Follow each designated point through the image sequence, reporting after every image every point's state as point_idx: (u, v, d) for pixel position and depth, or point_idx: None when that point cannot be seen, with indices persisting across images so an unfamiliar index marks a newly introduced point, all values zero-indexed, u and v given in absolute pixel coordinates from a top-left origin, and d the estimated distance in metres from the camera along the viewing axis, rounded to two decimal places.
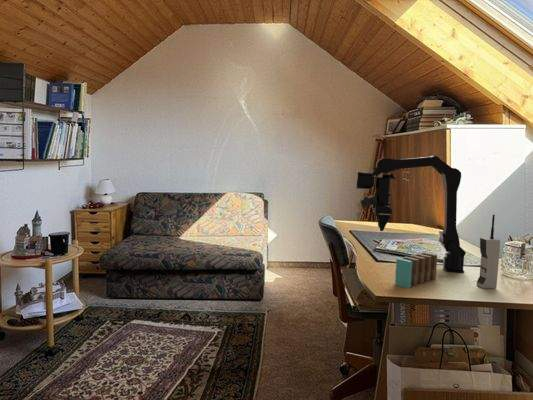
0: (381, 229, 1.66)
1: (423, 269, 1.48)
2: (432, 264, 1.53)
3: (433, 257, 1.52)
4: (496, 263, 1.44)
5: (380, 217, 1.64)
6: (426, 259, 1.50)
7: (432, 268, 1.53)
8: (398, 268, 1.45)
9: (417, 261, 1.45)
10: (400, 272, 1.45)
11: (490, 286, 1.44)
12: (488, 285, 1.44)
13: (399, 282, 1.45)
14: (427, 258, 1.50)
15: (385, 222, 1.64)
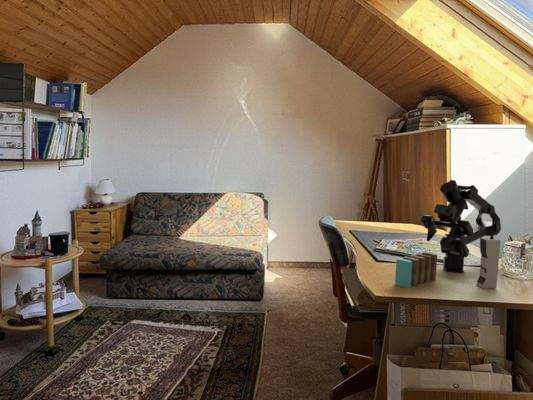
0: (446, 242, 1.55)
1: (423, 269, 1.48)
2: (432, 264, 1.53)
3: (433, 257, 1.52)
4: (496, 263, 1.44)
5: (454, 231, 1.55)
6: (426, 259, 1.50)
7: (432, 268, 1.53)
8: (398, 268, 1.45)
9: (417, 261, 1.45)
10: (400, 272, 1.45)
11: (490, 286, 1.44)
12: (488, 285, 1.44)
13: (399, 282, 1.45)
14: (427, 258, 1.50)
15: (453, 239, 1.56)
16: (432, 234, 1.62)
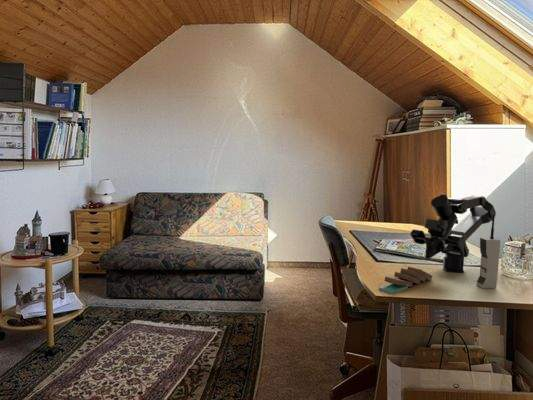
0: (428, 257, 1.53)
1: (413, 279, 1.44)
2: None
3: None
4: (496, 263, 1.44)
5: (436, 245, 1.54)
6: (412, 275, 1.45)
7: None
8: None
9: (398, 282, 1.39)
10: None
11: (490, 286, 1.44)
12: (488, 285, 1.44)
13: None
14: (412, 275, 1.45)
15: (435, 253, 1.54)
16: None
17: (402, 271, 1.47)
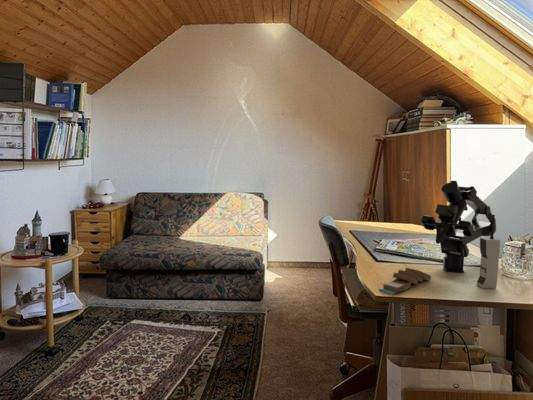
0: (439, 241, 1.57)
1: (412, 279, 1.44)
2: None
3: None
4: (496, 263, 1.44)
5: (447, 230, 1.57)
6: None
7: None
8: None
9: (398, 289, 1.36)
10: None
11: (490, 286, 1.44)
12: (488, 285, 1.44)
13: None
14: None
15: (445, 237, 1.58)
16: None
17: (400, 273, 1.47)
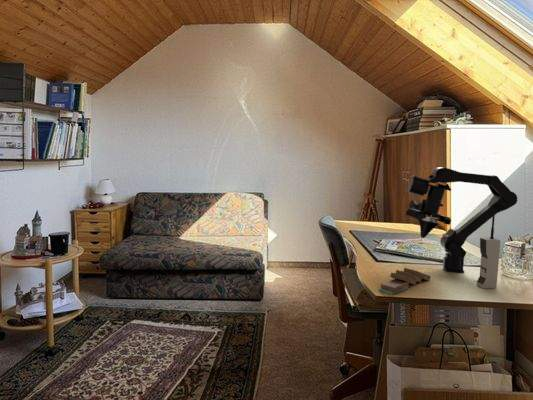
0: (421, 235, 1.67)
1: (409, 279, 1.43)
2: None
3: None
4: (496, 263, 1.44)
5: (421, 223, 1.66)
6: None
7: (421, 277, 1.50)
8: None
9: (395, 289, 1.36)
10: None
11: (490, 286, 1.44)
12: (488, 285, 1.44)
13: None
14: None
15: (424, 229, 1.65)
16: None
17: (397, 273, 1.47)
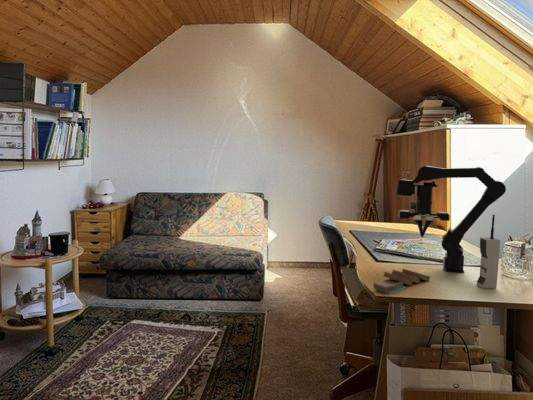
0: (420, 234, 1.71)
1: (403, 279, 1.43)
2: (417, 277, 1.49)
3: (413, 276, 1.48)
4: (496, 263, 1.44)
5: (417, 222, 1.71)
6: (403, 277, 1.45)
7: (420, 278, 1.50)
8: None
9: (387, 289, 1.36)
10: None
11: (490, 286, 1.44)
12: (488, 285, 1.44)
13: None
14: (403, 277, 1.44)
15: (419, 228, 1.70)
16: (423, 227, 1.70)
17: (393, 273, 1.47)
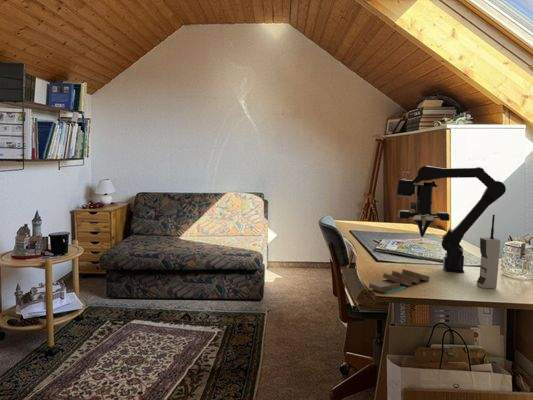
0: (420, 234, 1.71)
1: (402, 281, 1.42)
2: None
3: None
4: (496, 263, 1.44)
5: (417, 222, 1.71)
6: (403, 278, 1.44)
7: (420, 278, 1.50)
8: None
9: (382, 289, 1.36)
10: None
11: (490, 286, 1.44)
12: (488, 285, 1.44)
13: None
14: (403, 278, 1.44)
15: (419, 228, 1.70)
16: (423, 227, 1.70)
17: (393, 274, 1.47)
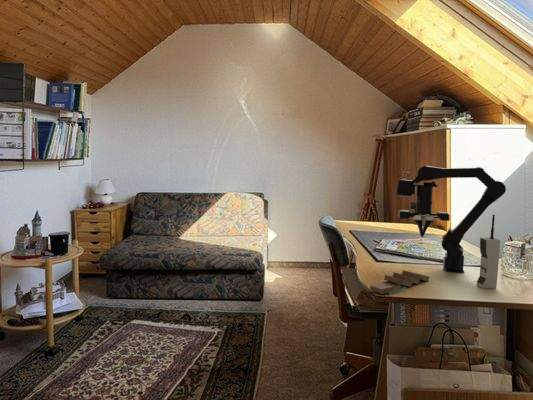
0: (420, 234, 1.71)
1: (404, 282, 1.41)
2: (418, 278, 1.48)
3: (414, 277, 1.47)
4: (496, 263, 1.44)
5: (417, 222, 1.71)
6: None
7: None
8: None
9: (383, 291, 1.34)
10: None
11: (490, 286, 1.44)
12: (488, 285, 1.44)
13: None
14: (405, 280, 1.43)
15: (419, 228, 1.70)
16: (423, 227, 1.70)
17: (394, 275, 1.45)
